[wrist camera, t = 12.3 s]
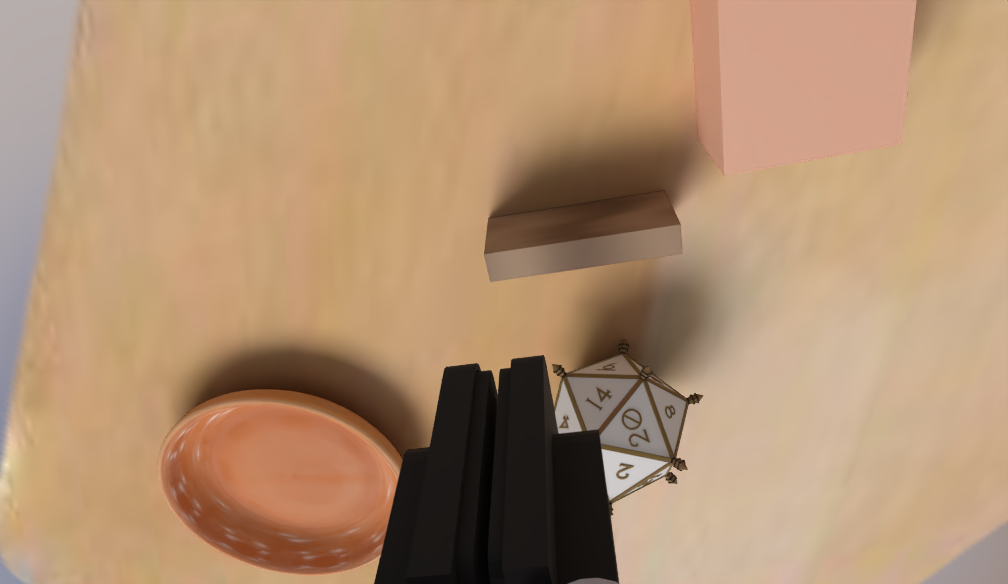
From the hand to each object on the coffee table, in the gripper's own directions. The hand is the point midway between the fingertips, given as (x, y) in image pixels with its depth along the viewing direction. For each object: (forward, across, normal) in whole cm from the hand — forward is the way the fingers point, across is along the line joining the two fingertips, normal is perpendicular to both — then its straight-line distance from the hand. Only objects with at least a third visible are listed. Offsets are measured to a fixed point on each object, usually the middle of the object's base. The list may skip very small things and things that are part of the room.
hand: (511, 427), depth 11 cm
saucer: (+23, +19, +22) cm, 37 cm away
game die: (+23, -2, +18) cm, 29 cm away
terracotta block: (+23, -11, 0) cm, 25 cm away
